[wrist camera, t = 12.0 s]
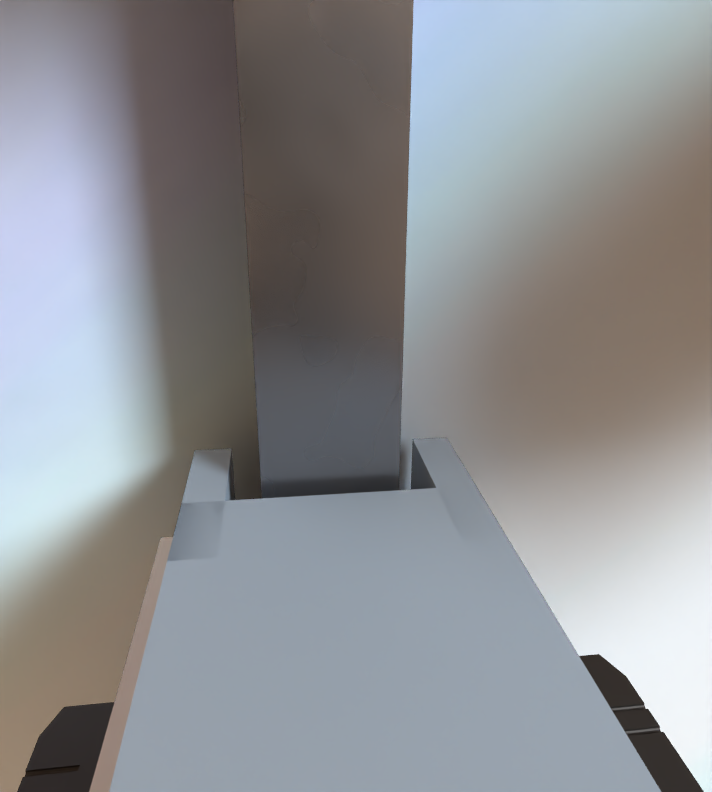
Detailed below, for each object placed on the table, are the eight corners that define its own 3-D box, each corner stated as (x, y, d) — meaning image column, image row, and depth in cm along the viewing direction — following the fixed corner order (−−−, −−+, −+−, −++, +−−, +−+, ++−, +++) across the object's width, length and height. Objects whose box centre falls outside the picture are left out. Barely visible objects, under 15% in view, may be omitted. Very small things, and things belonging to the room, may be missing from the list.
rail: (224, -276, 9) (207, -415, 7) (387, -264, 10) (424, -392, 7) (278, 714, 16) (279, 808, 14) (372, 704, 16) (389, 796, 14)
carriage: (195, 450, 12) (40, 1064, 4) (446, 437, 13) (758, 952, 5) (218, 688, 15) (148, 1405, 6) (433, 668, 15) (631, 1301, 7)
